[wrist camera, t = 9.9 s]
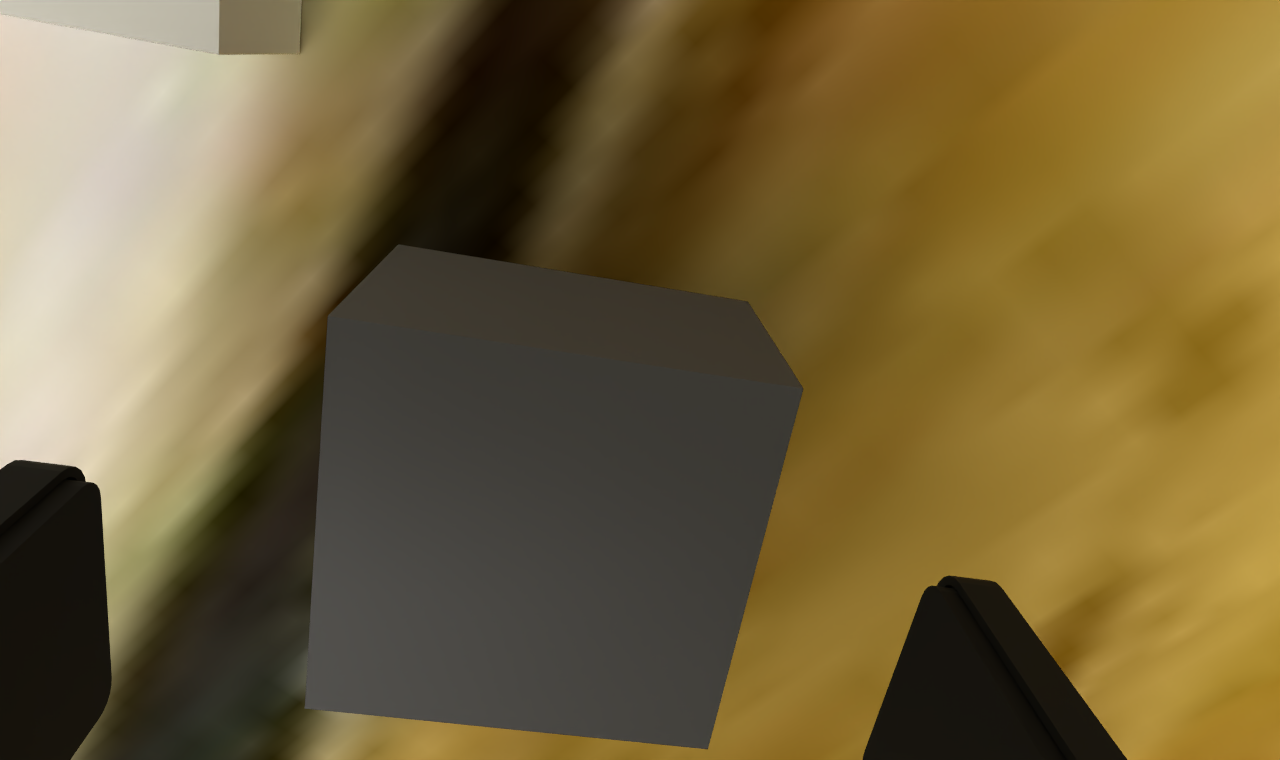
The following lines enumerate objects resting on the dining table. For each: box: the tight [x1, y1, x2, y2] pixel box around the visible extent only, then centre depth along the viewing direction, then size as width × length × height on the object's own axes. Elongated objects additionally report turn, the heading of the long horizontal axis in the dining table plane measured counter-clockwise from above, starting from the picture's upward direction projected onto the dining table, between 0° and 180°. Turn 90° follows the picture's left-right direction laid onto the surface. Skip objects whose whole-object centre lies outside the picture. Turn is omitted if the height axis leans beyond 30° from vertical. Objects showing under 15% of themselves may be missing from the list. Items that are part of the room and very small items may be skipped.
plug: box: [305, 244, 803, 749], centre depth 16 cm, size 6×6×8 cm
